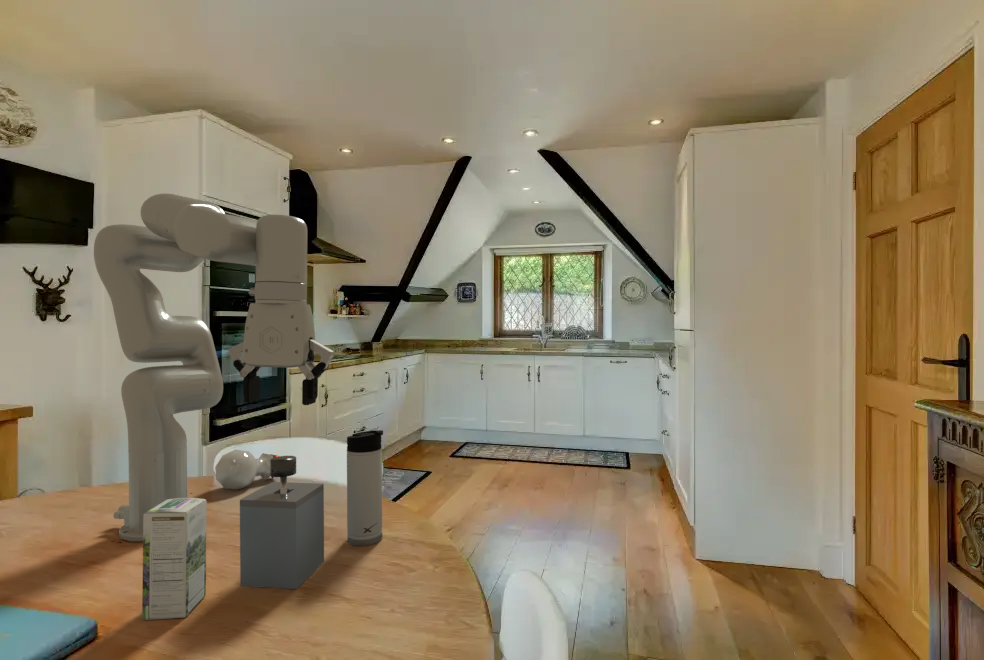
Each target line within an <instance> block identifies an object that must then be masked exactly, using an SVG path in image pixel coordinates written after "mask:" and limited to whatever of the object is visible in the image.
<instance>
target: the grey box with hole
mask: <svg viewBox="0 0 984 660" xmlns="http://www.w3.org/2000/svg"><path fill="white" fill-rule="evenodd" d="M324 485H325V484H324V483H316V482H313V483H312V482H289V481H287V494H280V481H272V482H270V483H269V484H266V485H264V486H263V487H261V488H258V489H257V490H255V491H254V492H251V493H250V494H248V495H246V496H243V497H242V498H240V499H239V556H240V557H239V562H240V564H239V566H240V567H239V569H240V571H239V572H240V573H239V574H240V575H239V577H240V587H255V588H270V589H286V590H297V589H298V588H300V587H301V585H303V583H304V582H306V580H307V579H309V577H311V576H312V575H313V573H315V572H316V571H317V570H318V569H319V568H320V567H321V566H322V565H323V564H324V563H325V514H324V512H325V505H324V503H325V495H324V490H325V488H324Z"/></svg>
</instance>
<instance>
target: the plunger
mask: <svg viewBox="0 0 984 660" xmlns="http://www.w3.org/2000/svg"><path fill="white" fill-rule="evenodd" d="M278 456H279V457H275V458H272V459H271V460H270V475H271V476H272V477H274V478H279V479H280V480H279V482H280V494H287V482H288V477H291V476H293V475H296V474H297V457H296V456H295V455H278ZM271 476H270V477H271ZM272 477H271V478H272Z"/></svg>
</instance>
